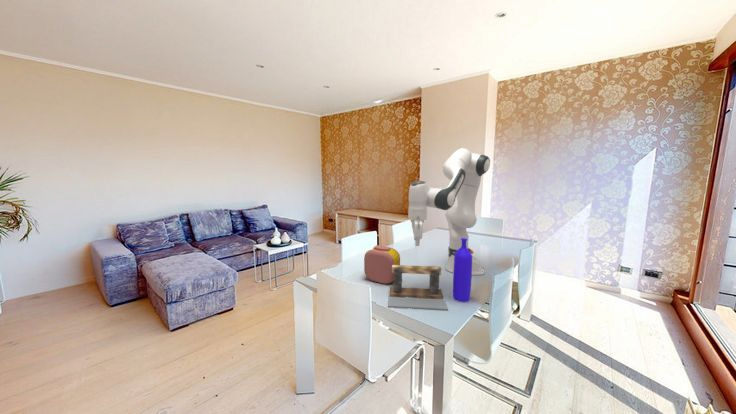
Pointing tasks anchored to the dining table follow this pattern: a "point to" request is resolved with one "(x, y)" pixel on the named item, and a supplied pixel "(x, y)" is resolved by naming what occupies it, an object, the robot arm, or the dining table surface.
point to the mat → (417, 303)
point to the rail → (416, 269)
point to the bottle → (462, 273)
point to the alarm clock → (381, 264)
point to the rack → (416, 292)
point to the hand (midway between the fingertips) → (416, 242)
